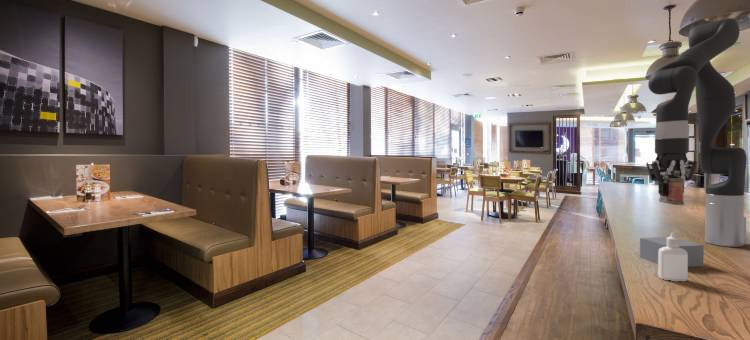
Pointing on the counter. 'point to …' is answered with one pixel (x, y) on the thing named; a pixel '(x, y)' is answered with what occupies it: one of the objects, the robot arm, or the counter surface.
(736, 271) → the counter surface
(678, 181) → the lighter
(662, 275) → the eye dropper bottle
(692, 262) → the pedestal block
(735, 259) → the counter surface
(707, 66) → the robot arm
